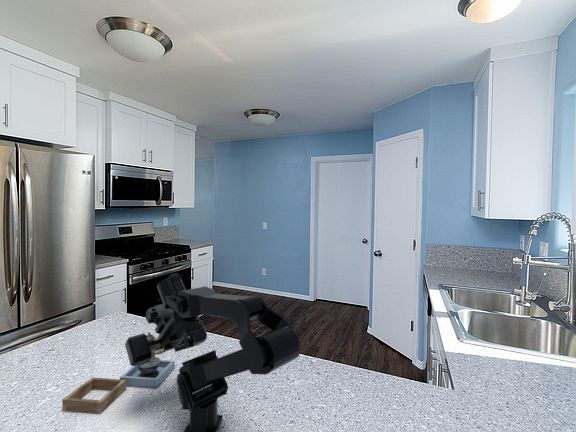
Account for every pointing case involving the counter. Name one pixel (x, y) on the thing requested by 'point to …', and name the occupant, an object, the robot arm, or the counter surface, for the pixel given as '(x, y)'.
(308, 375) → the counter surface
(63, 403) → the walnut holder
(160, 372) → the slate tray
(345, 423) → the counter surface
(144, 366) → the grey stone chess piece
